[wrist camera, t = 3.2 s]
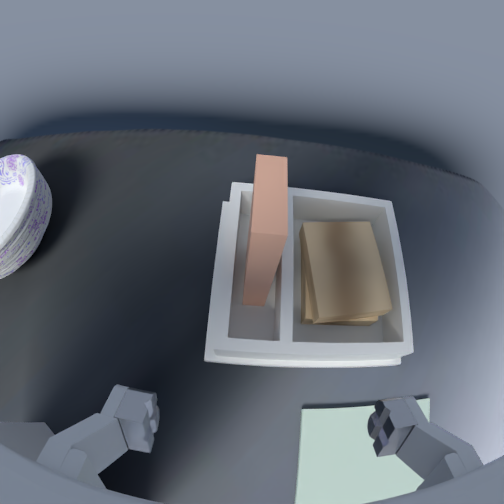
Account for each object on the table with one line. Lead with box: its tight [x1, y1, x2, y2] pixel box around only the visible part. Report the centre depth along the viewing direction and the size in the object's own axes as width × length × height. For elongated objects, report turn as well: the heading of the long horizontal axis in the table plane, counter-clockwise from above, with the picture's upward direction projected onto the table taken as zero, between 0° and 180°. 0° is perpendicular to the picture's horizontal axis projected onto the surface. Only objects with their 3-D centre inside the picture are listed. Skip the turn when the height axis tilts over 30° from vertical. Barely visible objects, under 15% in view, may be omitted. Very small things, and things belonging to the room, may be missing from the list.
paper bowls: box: [0, 154, 52, 279], centre depth 27 cm, size 15×15×8 cm
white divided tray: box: [204, 182, 413, 368], centre depth 28 cm, size 19×17×5 cm
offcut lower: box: [301, 250, 378, 326], centre depth 29 cm, size 7×9×2 cm
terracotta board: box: [242, 154, 288, 306], centre depth 24 cm, size 2×6×13 cm, turn 177°
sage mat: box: [294, 398, 430, 504], centre depth 21 cm, size 14×14×1 cm
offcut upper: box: [299, 221, 393, 324], centre depth 27 cm, size 7×9×2 cm
